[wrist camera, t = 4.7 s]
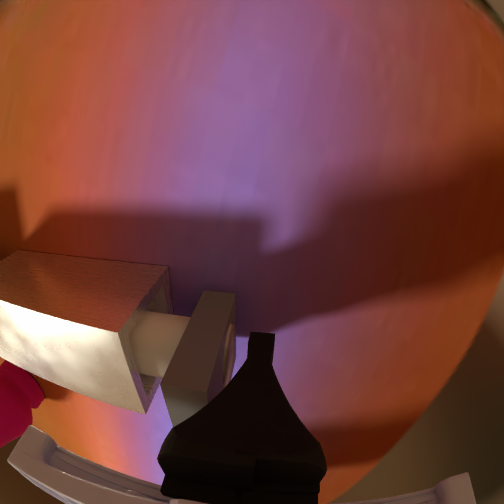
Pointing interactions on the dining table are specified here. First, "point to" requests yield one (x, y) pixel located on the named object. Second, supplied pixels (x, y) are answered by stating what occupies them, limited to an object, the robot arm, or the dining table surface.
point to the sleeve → (80, 322)
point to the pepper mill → (16, 401)
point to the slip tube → (188, 352)
